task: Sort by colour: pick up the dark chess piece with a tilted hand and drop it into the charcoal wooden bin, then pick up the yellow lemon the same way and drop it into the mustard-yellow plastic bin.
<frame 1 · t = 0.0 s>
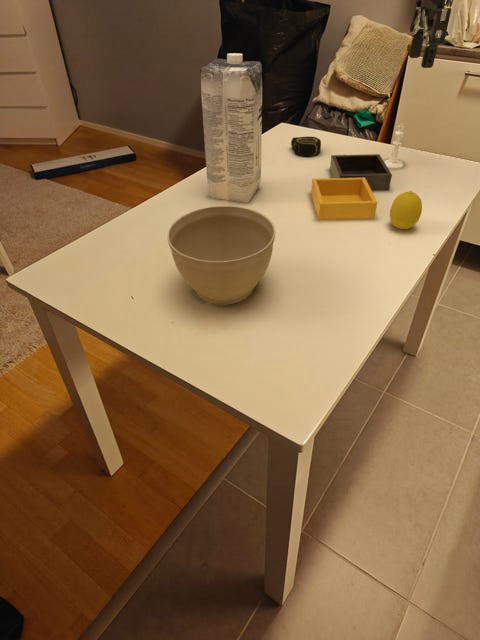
hand: (420, 62, 97), 22 cm above the table, tool pointing down, fingers open, 8 cm apart
lemon: (400, 230, 89), on the table
dark bin: (357, 182, 104), on the table
tape measure: (304, 154, 117), on the table
juice carton: (234, 195, 101), on the table
chess piece: (392, 167, 110), on the table
planter bowl: (224, 289, 76), on the table
yellow bin: (340, 208, 95), on the table
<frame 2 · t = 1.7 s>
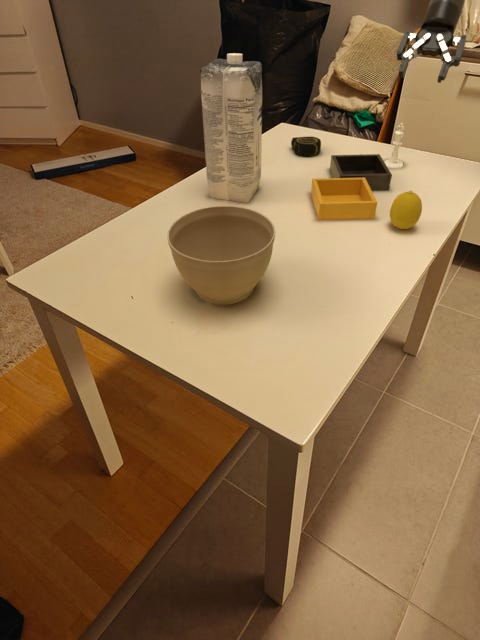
hand: (420, 78, 107), 17 cm above the table, tool tilted 45°, fingers open, 8 cm apart
nothing on the table moved.
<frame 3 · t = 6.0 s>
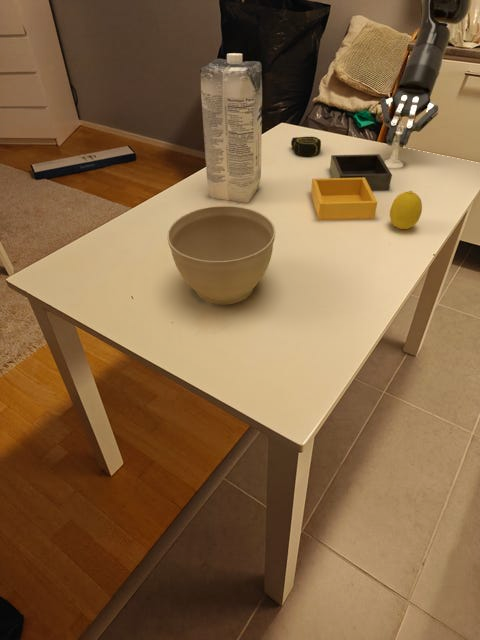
hand: (395, 144, 105), 6 cm above the table, tool tilted 45°, fingers closed on chess piece
chess piece: (392, 167, 110), on the table, touching gripper
everything else where it was.
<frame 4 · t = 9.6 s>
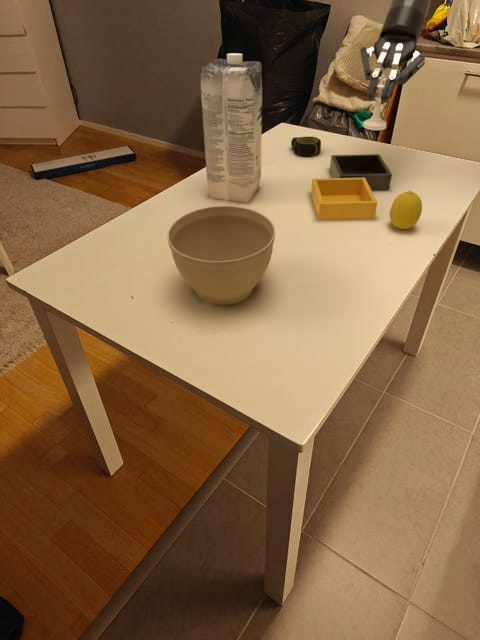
hand: (376, 99, 93), 18 cm above the table, tool tilted 45°, fingers closed on chess piece
chess piece: (374, 127, 98), point 11 cm above the table, touching gripper
everything else where it was.
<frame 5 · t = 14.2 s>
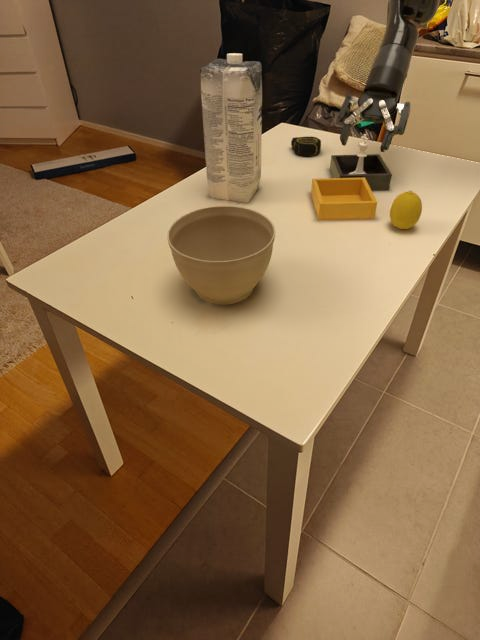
hand: (362, 147, 98), 8 cm above the table, tool tilted 45°, fingers open, 8 cm apart
chess piece: (357, 180, 104), resting on dark bin
everything else where it was.
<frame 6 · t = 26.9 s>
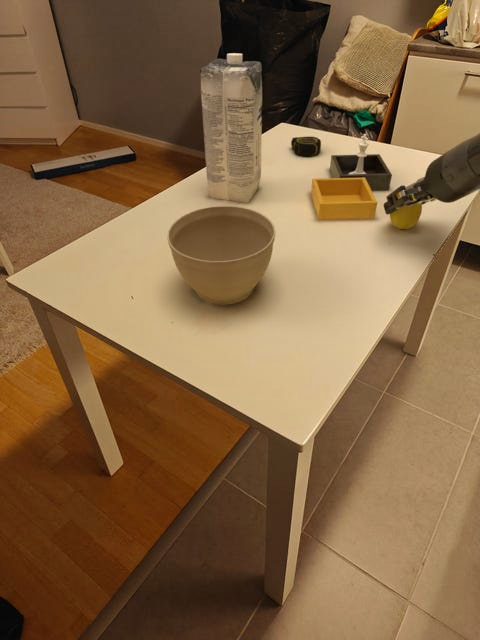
hand: (400, 205, 87), 4 cm above the table, tool tilted 45°, fingers closed on lemon, 5 cm apart
lemon: (400, 230, 89), on the table, touching gripper
everything else where it was.
when the fingers open (5 cm above the table, at t = 34.8 s): lemon stays where it is, resting on yellow bin.
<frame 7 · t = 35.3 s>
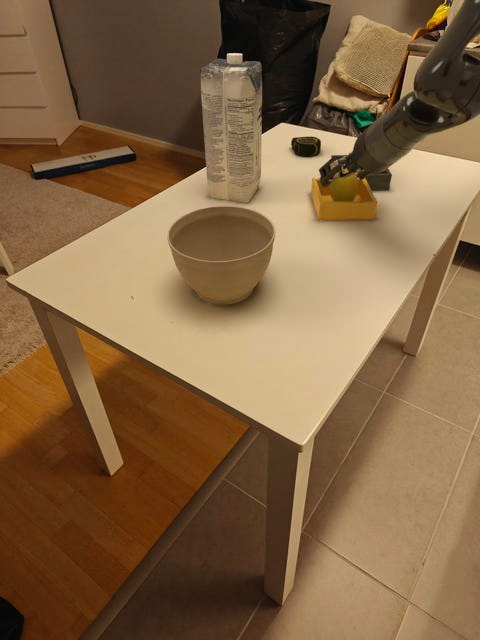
hand: (341, 178, 92), 6 cm above the table, tool tilted 45°, fingers open, 8 cm apart
lemon: (341, 206, 95), resting on yellow bin
everything else where it was.
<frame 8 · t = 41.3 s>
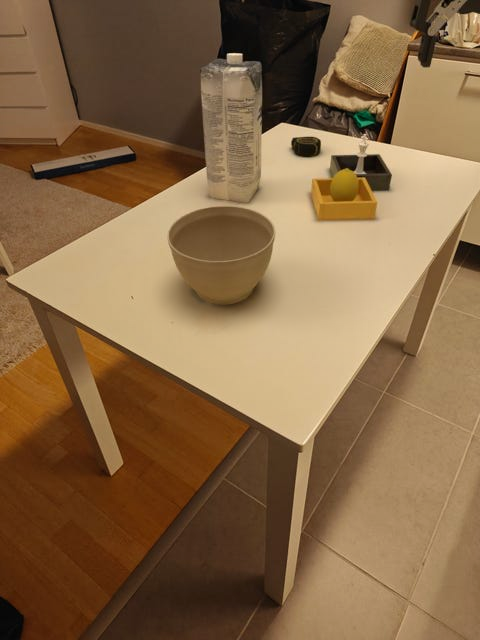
hand: (455, 65, 63), 30 cm above the table, tool pointing down, fingers open, 8 cm apart
nothing on the table moved.
at the end: chess piece inside the target area in the dark bin (0.2 cm from its centre), point 0.4 cm above the dark bin's base; lemon inside the target area in the yellow bin (0.2 cm from its centre), point 0.4 cm above the yellow bin's base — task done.
